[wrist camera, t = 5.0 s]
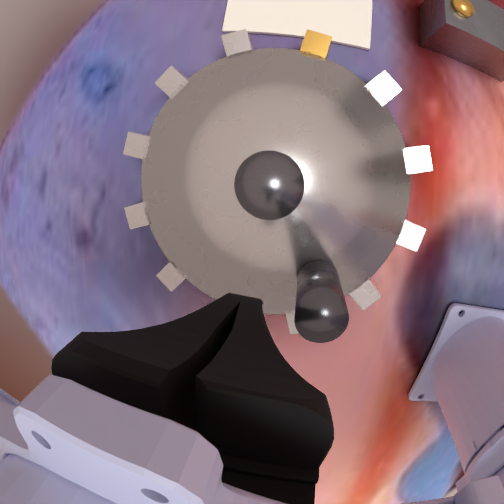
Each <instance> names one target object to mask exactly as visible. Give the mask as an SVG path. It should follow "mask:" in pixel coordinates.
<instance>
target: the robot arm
mask: <svg viewBox="0 0 504 504" xmlns="http://www.w3.org/2000/svg"><path fill="white" fill-rule="evenodd" d="M262 305H263V302H262V300H261V299H259V298H254V297H249V296H244V295H239V294H234V293H227V294H225V295H224V296H222V297H220V298H219V299H217V300H215V301H214V302H212V303H210V304H208V305H207V306H205V307H203V308H201V309H199V310H197V311H195V312H193V313H191V314H188V315H186V316H184V317H182V318H179V319H176V320H174V321H171V322H168V323H164V324H161V325H157V326H152V327H148V328H143V329H138V330H130V331H120V332H81V333H80V334H79V335H77V336H76V337H75V338H74V339H73V340H72V341H71V342H70V343H68V344H67V345H66V346H65V347H64V348H63V349H62V350H61V351H59V352H58V353H57V354H56V355H55V357H54V358H53V360H52V374H53V375H49V376H48V377H47V378H46V379H44V380H43V381H42V382H41V383H40V384H39V385H38V386H37V387H36V388H35V389H34V390H33V391H32V392H31V393H30V394H29V395H28V396H27V397H26V398H25V399H24V400H23V401H22V402H21V403H20V402H19V401H17V400H16V399H14V398H13V397H12V396H10V395H9V394H8V393H6V392H5V391H3V390H2V389H1V388H0V504H314V499H315V484H316V483H317V482H318V479H319V467H320V465H321V464H322V462H323V460H324V459H325V457H326V455H327V453H328V452H329V450H330V448H331V446H332V443H333V440H334V427H333V421H332V416H331V412H330V408H329V404H328V401H327V398H326V395H325V394H323V393H322V392H321V391H319V390H318V389H316V388H315V387H314V386H312V385H311V384H309V383H308V382H307V381H305V380H304V379H303V378H302V377H301V376H300V375H299V374H298V373H297V372H296V371H295V370H294V369H293V368H292V367H291V366H290V365H289V364H288V363H287V361H286V360H285V359H284V358H283V356H282V355H281V353H280V352H279V350H278V348H277V347H276V345H275V343H274V341H273V339H272V337H271V335H270V332H269V330H268V327H267V324H266V321H265V318H264V314H263V307H262ZM461 310H462V312H461V313H460V314H459V312H460V311H461ZM421 394H422V395H421ZM419 395H420V396H419ZM408 396H409V399H410V400H411V401H438V403H439V406H440V408H441V410H442V413H443V415H444V418H445V420H446V423H447V426H448V428H449V431H450V433H451V436H452V439H453V442H454V444H455V447H456V450H457V453H458V456H459V459H460V462H461V464H462V467H463V471H464V474H465V475H464V476H463V477H462V478H461V479H460V480H459V481H457V482H456V487H457V490H458V492H457V493H456V494H455V496H452V497H447V498H441V499H435V500H428V501H420V502H412V503H402V504H504V310H498V309H492V308H485V307H479V306H472V305H466V304H459V303H454V304H452V305H451V306H449V308H448V310H447V313H446V315H445V318H444V320H443V323H442V325H441V328H440V330H439V332H438V335H437V337H436V339H435V341H434V344H433V346H432V348H431V350H430V352H429V355H428V357H427V359H426V361H425V363H424V365H423V367H422V369H421V371H420V373H419V375H418V377H417V379H416V381H415V383H414V385H413V386H412V388H411V390H410V392H409V394H408Z"/></svg>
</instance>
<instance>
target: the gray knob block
mask: <svg viewBox="0 0 504 504" xmlns="http://www.w3.org/2000/svg"><path fill="white" fill-rule="evenodd" d="M419 10H420V46H421V47H424V48H426V49H429V50H432V51H435V52H437V53H440V54H443V55H445V56H448V57H450V58H452V59H455V60H457V61H460V62H462V63H464V64H466V65H469V66H471V67H473V68H475V69H477V70H479V71H482V72H484V73H486V74H488V75H490V76H492V77H494V78H496V79H497V80H499V81H504V9H502V8H500V7H498V6H497V5H495V4H493V3H491V2H490V1H488V0H424V2H423V3H422V4H421V5H420V7H419Z"/></svg>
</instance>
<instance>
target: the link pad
mask: <svg viewBox="0 0 504 504" xmlns="http://www.w3.org/2000/svg"><path fill="white" fill-rule="evenodd" d="M371 21H372V0H228V4H227V8H226V13H225V18H224V24H223V29H222V31H223V32H225V33H232V32H235V31H239V30H243V29H246V30H247V32H248V33H254V34H268V35H280V36H289V37H298V38H304V37H305V34H306V31H307V29H308V30H311V31H315V32H319V33H322V34H325V35H328V36H332V40H331V43H336V44H341V45H346V46H351V47H356V48H360V49H365V50H369V49H370V39H371Z"/></svg>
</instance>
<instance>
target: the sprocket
mask: <svg viewBox="0 0 504 504" xmlns="http://www.w3.org/2000/svg"><path fill="white" fill-rule="evenodd" d="M221 36H222V40H223V44H224V48H225V51H226V55H227V57H224V58H221V59H219V60H217V61H215V62H213V63H211V64H209V65H207V66H205V67H204V68H202V69H201V70H199V71H198V72H196V73H195V74H194V75H192V76H191V77H190V78H189V77H188V76H187V75H186V74H184V73H183V72H181V71H180V70H178V69H176V68H175V67H173V66H172V65H171V66H170V67H169V68H168V69H167V70H166V71H165V73H164V74H163V75H162V76H161V77H160V78H159V79H158V80H157V81H156V82H155V84H156V85H157V86H158V87H159V88H161V89H162V90H163V91H164V92H165V93H166V94H167V95H168V96H169V97H170V98H169V99H168V100H167V101H166V103H165V105H164V106H163V108H162V109H161V111H160V112H159V114H158V116H157V117H156V120H155V122H154V124H153V126H152V128H151V130H150V133H149V134H147V133H137V132H128V135H127V139H126V144H125V148H124V152H123V154H124V155H128V156H132V157H136V158H139V159H143V160H142V170H141V188H142V199H143V202H140V203H137V204H134V205H131V206H128V207H125V208H124V209H125V213H126V217H127V220H128V224H129V227H130V229H134V228H138V227H142V226H146V225H150V228H151V231H152V233H153V235H154V237H155V239H156V241H157V243H158V245H159V247H160V248H161V250H162V251H163V253H164V254H165V256H166V258H167V259H168V260H169V261H170V262H169V263H168V264H167V265H166V266H165V267H164V268H163V269H162V270H161V271H160V272H159V273H158V274H157V275H156V276H157V277H158V278H159V279H160V281H161V282H162V283H163V284H164V285H165V286H166V287H167V288H168V289H169V290H170V291H171V292H172V291H173V290H174V289H175V288H176V287H177V286H178V285H179V284H180V283H182V282H183V281H184V280H185V279H186V280H188V281H189V282H190V283H191V284H192V285H194V286H195V287H196V288H198V289H199V290H200V291H202V292H203V293H205V294H207V295H209V296H210V297H212V298H214V299H216V300H217V299H219V298H220V297H222V296H224V295H225V294H227V293H234V294H239V295H244V296H249V297H254V298H259V299H261V300H262V302H263V305H262V307H263V314H280V315H281V314H286V319H287V323H288V328H289V333H290V334H297V333H299V334H300V335H301V336H302V337H304V338H305V339H307V340H309V341H312V342H317V343H324V342H329V341H332V340H334V339H336V338H338V337H339V336H340V335H341V334H342V333H343V332H344V331H345V329H346V327H347V325H348V321H349V315H348V310H347V306H346V302H345V298H344V297H345V296H347V295H348V294H350V295H351V297H352V298H353V299H354V300H355V302H356V303H357V304H358V305H359V306H360V308H361V309H362V310H365V309H366V308H367V307H369V306H370V305H371V304H373V303H374V302H375V301H377V300H378V299H379V298H381V297H382V296H381V294H380V292H379V290H378V288H377V286H376V284H375V282H374V281H373V279H372V278H371V276H373V274H374V273H375V272H376V271H377V270H378V269H379V268H380V266H381V265H382V264H383V263H384V262H385V260H386V259H387V257H388V256H389V254H390V253H391V251H392V250H393V248H394V246H395V244H398V245H401V246H403V247H406V248H408V249H411V250H413V251H415V252H417V250H418V248H419V245H420V243H421V241H422V238H423V236H424V233H425V231H426V229H425V228H423V227H422V226H420V225H419V224H417V223H415V222H414V221H412V220H410V219H408V218H406V216H407V211H408V205H409V199H410V181H411V178H410V174H412V173H419V172H427V171H433V168H432V161H431V155H430V149H429V145H427V146H412V147H405V143H404V141H403V138H402V136H401V133H400V131H399V128H398V126H397V124H396V122H395V120H394V118H393V117H392V115H391V113H390V111H389V110H388V108H387V107H386V106H385V104H386V103H387V102H388V101H389V100H391V99H392V98H393V97H394V96H395V95H397V94H398V93H399V92H400V91H402V89H401V88H400V86H399V85H398V84H397V83H396V82H395V81H394V80H393V78H392V77H391V76H390V75H389V74H388V73H387V72H386V71H385V70H384V71H383V72H382V73H380V74H379V75H378V76H377V77H375V78H374V79H373V80H372V81H370V82H369V83H368V84H366V83H365V82H364V81H363V80H361V79H360V78H359V77H357V76H356V75H355V74H353V73H352V72H351V71H349V70H348V69H346V68H344V67H343V66H341V65H339V64H337V63H335V62H333V61H331V60H329V59H326V58H327V55H328V52H329V48H330V44H331V40H332V36H328V35H325V34H322V33H319V32H315V31H311V30H308V29H307V31H306V34H305V37H304V40H303V43H302V45H301V49H300V50H295V49H285V48H262V49H254V46H253V42H252V40H251V38H250V36H249V34H248V32H247V30H246V29H243V30H239V31H235V32H232V33H228V34H225V35H221Z"/></svg>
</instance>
